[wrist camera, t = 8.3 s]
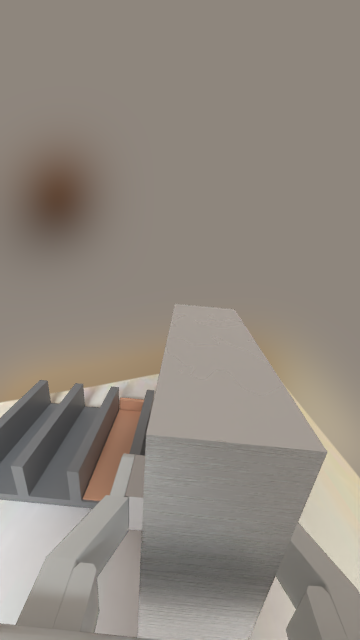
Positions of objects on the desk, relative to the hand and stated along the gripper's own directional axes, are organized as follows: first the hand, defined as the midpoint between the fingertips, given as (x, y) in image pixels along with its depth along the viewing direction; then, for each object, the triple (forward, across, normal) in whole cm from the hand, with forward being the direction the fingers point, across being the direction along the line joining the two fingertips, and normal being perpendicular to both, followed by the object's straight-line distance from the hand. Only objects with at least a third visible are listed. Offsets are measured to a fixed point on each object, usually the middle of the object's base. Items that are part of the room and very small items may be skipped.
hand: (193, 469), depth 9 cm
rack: (+16, +8, +20) cm, 27 cm away
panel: (0, 0, +8) cm, 8 cm away
